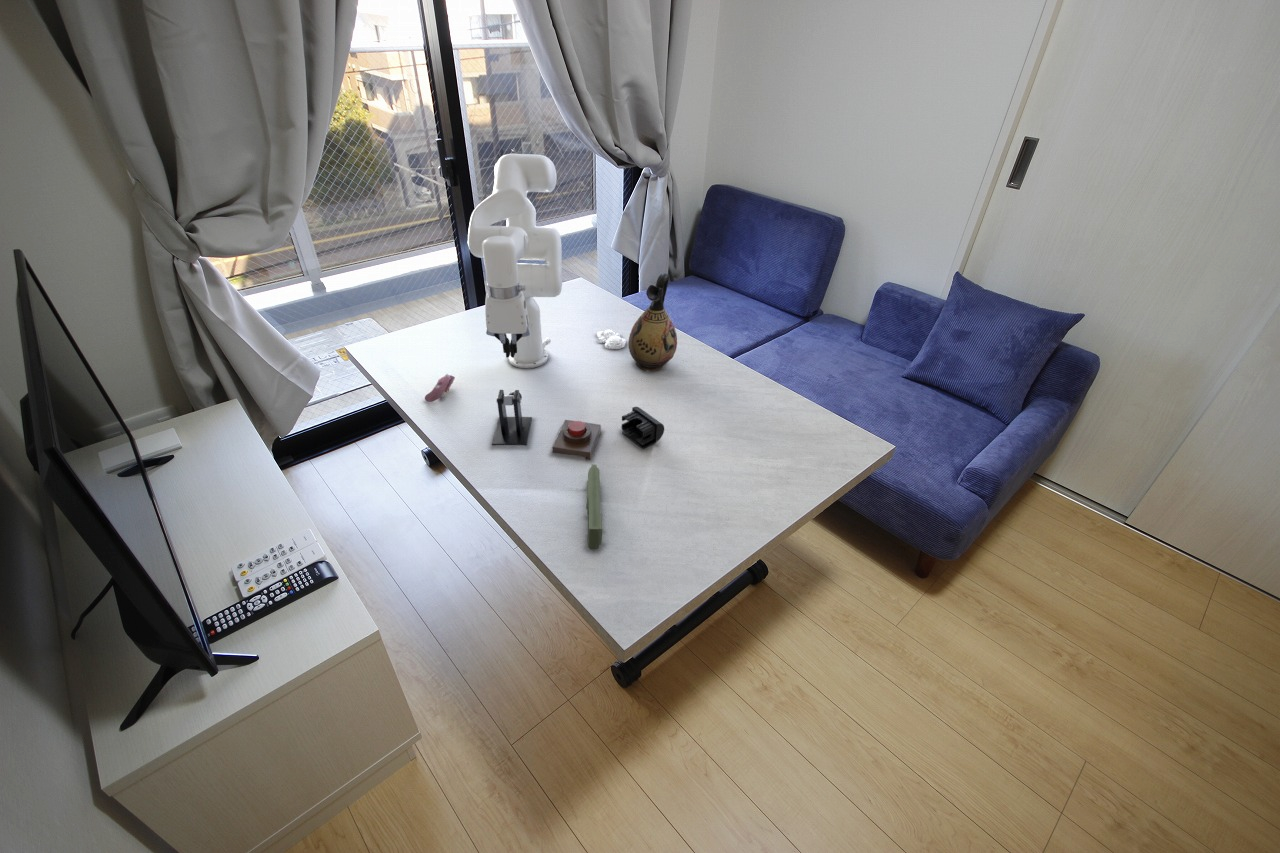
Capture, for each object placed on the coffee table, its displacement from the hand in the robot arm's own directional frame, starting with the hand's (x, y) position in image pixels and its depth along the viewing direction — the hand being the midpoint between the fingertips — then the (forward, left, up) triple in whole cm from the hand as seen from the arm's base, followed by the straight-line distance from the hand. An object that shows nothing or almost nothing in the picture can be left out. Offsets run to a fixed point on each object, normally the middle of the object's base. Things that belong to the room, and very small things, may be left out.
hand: (510, 354), depth 149 cm
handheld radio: (+19, +39, -19) cm, 47 cm away
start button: (+2, +22, -15) cm, 27 cm away
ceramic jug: (-45, +19, -19) cm, 53 cm away
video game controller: (+5, -24, -19) cm, 31 cm away
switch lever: (+5, +3, -12) cm, 14 cm away
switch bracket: (+8, +5, -19) cm, 21 cm away
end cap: (-10, +35, -19) cm, 41 cm away
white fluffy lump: (-50, 0, -19) cm, 54 cm away
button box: (+2, +22, -19) cm, 29 cm away
